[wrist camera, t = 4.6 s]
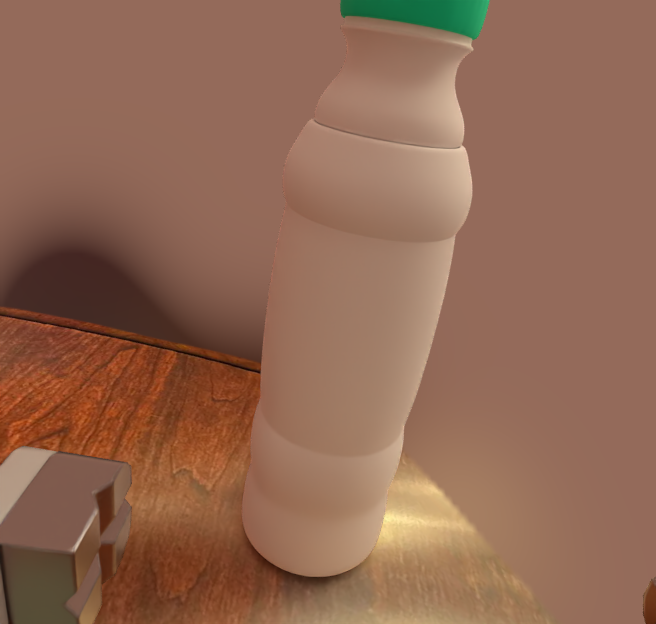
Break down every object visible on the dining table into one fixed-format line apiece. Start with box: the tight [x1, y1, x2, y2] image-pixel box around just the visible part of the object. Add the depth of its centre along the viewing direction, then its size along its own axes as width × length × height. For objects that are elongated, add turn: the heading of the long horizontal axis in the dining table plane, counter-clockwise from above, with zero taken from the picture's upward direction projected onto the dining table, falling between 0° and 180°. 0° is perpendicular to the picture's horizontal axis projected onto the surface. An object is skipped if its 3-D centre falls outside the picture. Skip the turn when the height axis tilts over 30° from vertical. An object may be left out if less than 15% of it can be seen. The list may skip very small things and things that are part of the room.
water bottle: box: [242, 0, 489, 577], centre depth 22 cm, size 7×7×25 cm
